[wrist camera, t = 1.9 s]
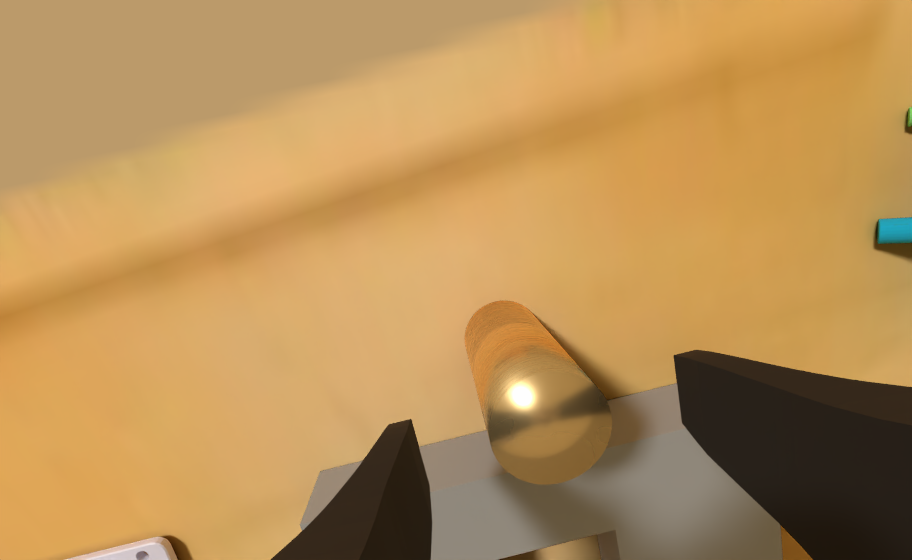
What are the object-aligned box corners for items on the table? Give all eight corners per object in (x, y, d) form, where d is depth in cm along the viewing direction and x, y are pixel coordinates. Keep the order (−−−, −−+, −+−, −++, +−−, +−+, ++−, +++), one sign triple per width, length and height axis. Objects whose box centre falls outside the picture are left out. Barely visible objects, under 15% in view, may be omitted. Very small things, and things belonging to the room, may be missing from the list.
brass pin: (473, 381, 18) (503, 497, 11) (457, 310, 17) (477, 388, 10) (546, 363, 18) (619, 467, 11) (532, 292, 17) (602, 357, 10)
